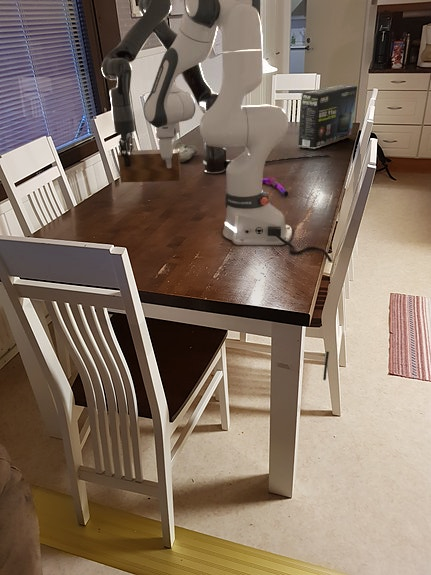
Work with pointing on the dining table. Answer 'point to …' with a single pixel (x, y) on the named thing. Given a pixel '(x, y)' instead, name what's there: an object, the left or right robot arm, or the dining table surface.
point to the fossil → (185, 151)
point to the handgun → (275, 184)
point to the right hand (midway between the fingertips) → (170, 164)
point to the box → (149, 167)
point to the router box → (326, 115)
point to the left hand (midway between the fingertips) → (129, 164)
